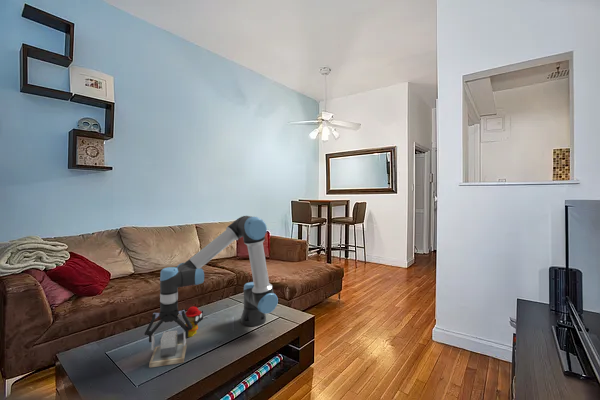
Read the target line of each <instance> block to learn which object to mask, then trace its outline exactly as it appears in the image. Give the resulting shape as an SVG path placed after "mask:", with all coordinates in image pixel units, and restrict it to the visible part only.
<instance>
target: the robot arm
mask: <svg viewBox="0 0 600 400" xmlns="http://www.w3.org/2000/svg"><path fill="white" fill-rule="evenodd" d="M267 231H268V227H267V223H266V222H265V221H264V220H263V219H262V218H260V217H258V216H251V215H243V216H240V217H238V218H237V219H236V220H234V221H233V222H232V223H230V224H229V225H227V227H226V229H225V230H224V231H223V232H221V233H220V234H219V235H218V236H217V237H215V238H214V239H213V240H211V242H209V243H208V244H207V245H206V246H204V247H203V248H201V249H200V250H199V251H198V252H197V253H195V254H194V255H193V256H191V257H190V258H189V259H188V260H186V261H185V262H181V263H179V264H178V265H177V266H176V267H174V266H169V267H164V268H162V269H161V270H160V272H159V273H160V276H159V287H160V288H159V289H160V290H159V292H160V293H159V298H160V299H159V302H160V303H159V307H160V308H159V309H160V310H159V312H153V313H152V315H151V316H152V317H151V320H150V323H149V324H148V326H147V328H146V330H145V332H144V336H148V342H149V343H151V351H154V350H155V347H156V346H155V343H156V342H155V337H156V336H155V332H156V331H157V329H159V327H161V325H162V324H163V322H164V323H169V322H170V323H171V322H175V323H177V325H179V327H180V328H182V330H183V343H184V346H185V345H186V346H187V338H189V337H188V331H189V330H191V329H192V324H191V323H190V321H189V319H188V317H187V316H186V314H185V313H186V310H185V309H184V308H183V309H182V310H179V301H178V299H179V291H178V290H179V289H178V288H184V287H190V286H197V285H200V284H203V283H204V281H205V271H204V269H203V268H202V267H203V266H205V265H207V264H208V263H209V262H210V261H212V259H214V258H215V257H216V256H218V254H220V253H221V252H222V251H224V249H227V247H229V246H230V245H231V244H233V242H234V241H238V240H239V239H241V238H243V239H242V240H243V243H244V245H246V247H247V252H248V257H249V263H250V270H251V274H252V275H251V276H252V281H250V282H246V283H245V284H244V285H243V310H242V312H241V316H240V323H241V325H243V326H245V327H246V326H247V327H256V326H261V325H263V324H265V323H266V321H267V314H270V313H272V312H273V311H275V309H277V306H278V303H279V299H278V296H277V295H276V293H274V289H273V288H274V286H273V284H271V283H270V280H269V273H268V267H267V260H266V254H265V247H264V242H265V240H266V234H267V233H268V232H267ZM179 315H180V316H181V317H182V319H183V321H182V320H181V319H180V317H179ZM158 317H159V318H160V319H159V320H158V321H157V323H156V324H155V325H154V327H152V326H153V324H154V322H155V320H156V319H158ZM184 322H185V323H184ZM185 324H187V326H188V327H187V326H186V325H185ZM151 328H152V329H151Z"/></svg>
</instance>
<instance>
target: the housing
mask: <svg viewBox="0 0 600 400" xmlns="http://www.w3.org/2000/svg"><path fill="white" fill-rule="evenodd" d="M162 332H163V331H162ZM177 344H178V329H177V330H169V331H164V332H163V333H162V336H161V338H160V346H161V358H162V357H169V356H175V354H176V350H177Z"/></svg>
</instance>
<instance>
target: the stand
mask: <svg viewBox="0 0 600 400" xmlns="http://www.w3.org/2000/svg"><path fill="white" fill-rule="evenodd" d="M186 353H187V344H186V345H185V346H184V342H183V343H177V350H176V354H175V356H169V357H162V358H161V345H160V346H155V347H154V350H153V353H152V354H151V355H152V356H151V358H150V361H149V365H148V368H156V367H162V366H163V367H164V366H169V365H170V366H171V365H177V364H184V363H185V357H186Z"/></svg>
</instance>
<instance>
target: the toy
mask: <svg viewBox="0 0 600 400" xmlns="http://www.w3.org/2000/svg"><path fill="white" fill-rule="evenodd" d="M185 314H186V316H187V317H188V319H189V321H190V323H191V324H192V329H191V330H189V331H188V338H191V337H193V336H195V335H197V331H198V329H199V325H198V324H199V323H200V322H201V321H203V320H204V310H200V309H199V308H198V307H197V306H190V307H189V308H188V309H187V310H186V311H185ZM184 324H185V325H186V326H187V324H186V323H184ZM187 327H188V326H187Z"/></svg>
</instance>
